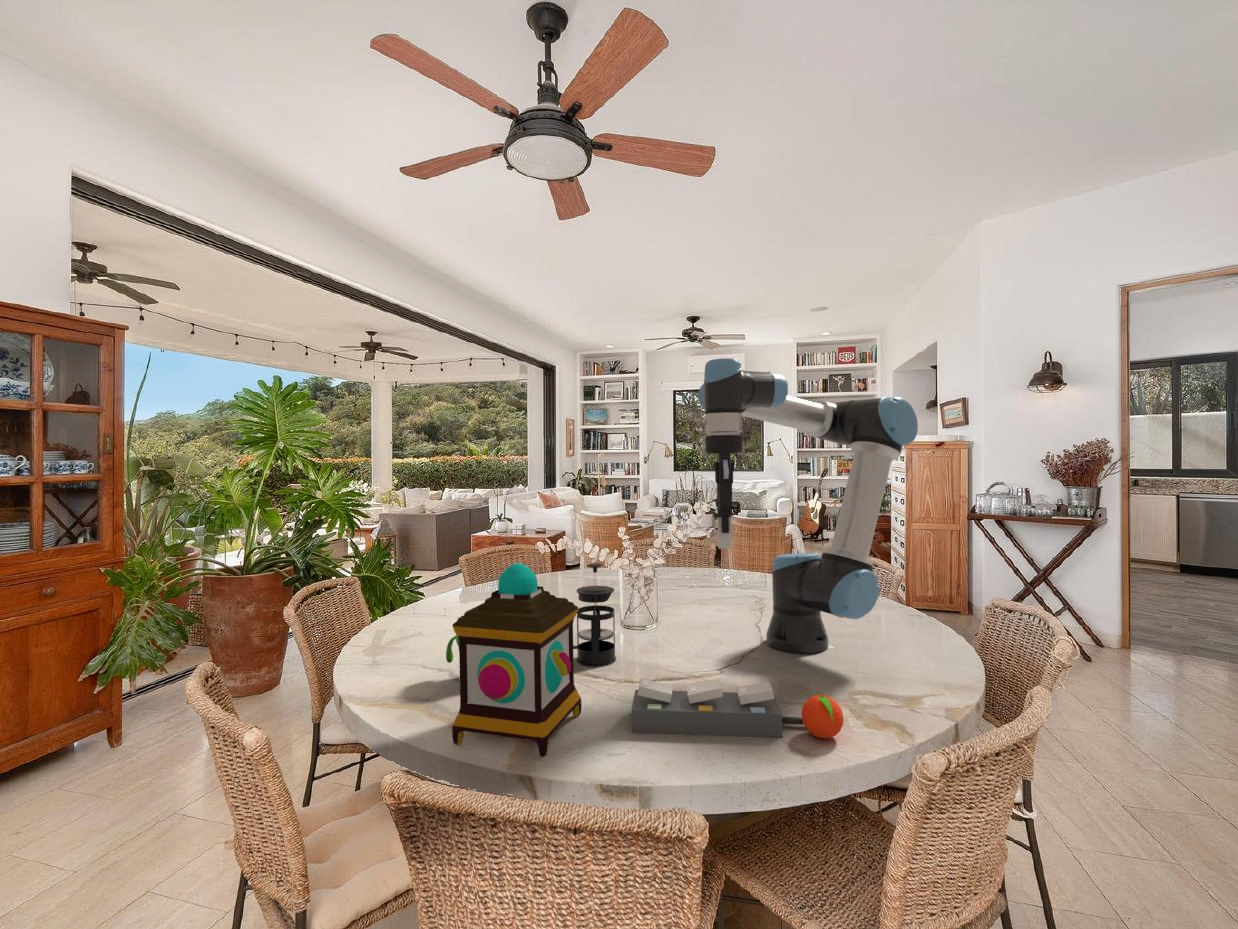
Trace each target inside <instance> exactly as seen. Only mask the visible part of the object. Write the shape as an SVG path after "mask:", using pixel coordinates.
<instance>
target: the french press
mask: <svg viewBox="0 0 1238 929" xmlns="http://www.w3.org/2000/svg"><path fill="white" fill-rule="evenodd" d="M585 567H586V568H592V571H593V573H594V576H593V577H594V580H593V581H594V585H587V586H581V587H579V588H577V589H576V593H577V594H578V600H579V601H580V602H583V603H589V604H593V603H594V605H587V606H581V607H578V611H577V614H576V628H577V629H576V633H577V634H576V639H577V641H576V642H577V645H573V650H577V657H576V662H577V664H579V665H581V666H585V667H590V666H593V667H592V668H594V666H600V667H604V666H603V665H606V666H609V665H608V664H610V663H612V664H613V662H614V663H615V662H616V661H617V656H616V637H615V636H616V634H615V632H616V625H615V624H616V622H615V615H616V614H615V608H614V607H612V606H609V605H599V604H598V603H605V602H607V601H608V600H609V599H610V598H611V596H612V593H614V592H615V588H613V587H611V586H607V585H597V573H598V568H603V567H605V565H604V564H603V563H600V562H599V563H589V564H586V565H585ZM597 604H598V605H597ZM587 612H592V614H587ZM601 612H607V613H602V614H601ZM584 613H586V614H584ZM579 619H580V620H584V621H590V628H586V629H583V630H579V629H580V628H579ZM610 619H613V620H612V621H613V622H612V623H613V626H612V627H613V628H612V630H611V629H608V628H601V621H606V620H610ZM611 638H613V642H611V641H608V640H609V639H611ZM580 639H581V640H584V642H581V643H580ZM610 665H611V664H610Z"/></svg>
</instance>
